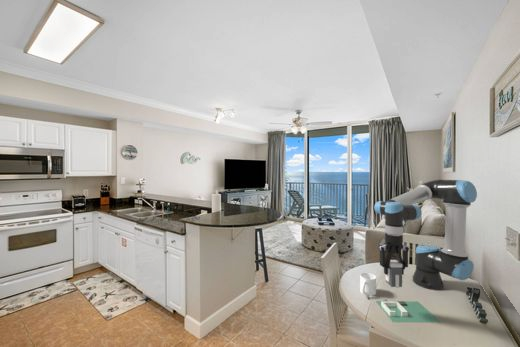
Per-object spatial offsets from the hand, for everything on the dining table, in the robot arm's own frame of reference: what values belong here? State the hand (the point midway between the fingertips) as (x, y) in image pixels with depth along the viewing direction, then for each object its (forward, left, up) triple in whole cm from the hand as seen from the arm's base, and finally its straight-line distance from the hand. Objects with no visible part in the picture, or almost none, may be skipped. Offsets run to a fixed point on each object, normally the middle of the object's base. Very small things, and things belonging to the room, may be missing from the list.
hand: (393, 280), depth 109 cm
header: (0, 0, -15) cm, 15 cm away
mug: (+6, -16, -16) cm, 24 cm away
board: (-6, 0, -16) cm, 17 cm away
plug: (0, 0, -2) cm, 2 cm away
